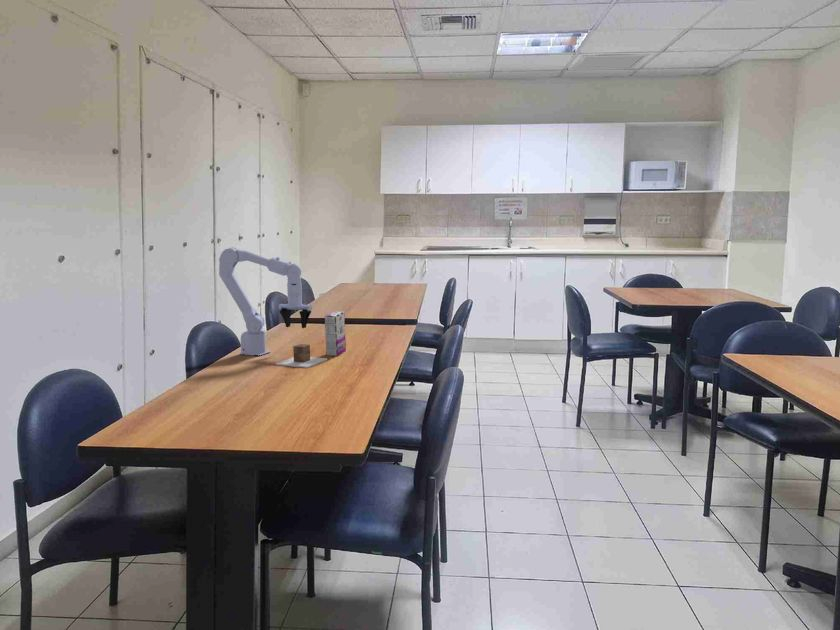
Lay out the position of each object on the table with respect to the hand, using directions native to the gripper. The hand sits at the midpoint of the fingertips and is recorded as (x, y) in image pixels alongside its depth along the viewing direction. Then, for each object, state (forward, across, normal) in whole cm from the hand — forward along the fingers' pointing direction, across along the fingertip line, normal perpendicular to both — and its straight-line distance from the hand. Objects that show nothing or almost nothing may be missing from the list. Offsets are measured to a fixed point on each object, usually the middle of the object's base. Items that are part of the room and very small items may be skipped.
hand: (296, 327), depth 259 cm
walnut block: (+10, +12, -15) cm, 21 cm away
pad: (+10, +12, -15) cm, 22 cm away
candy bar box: (+11, +16, +4) cm, 20 cm away
